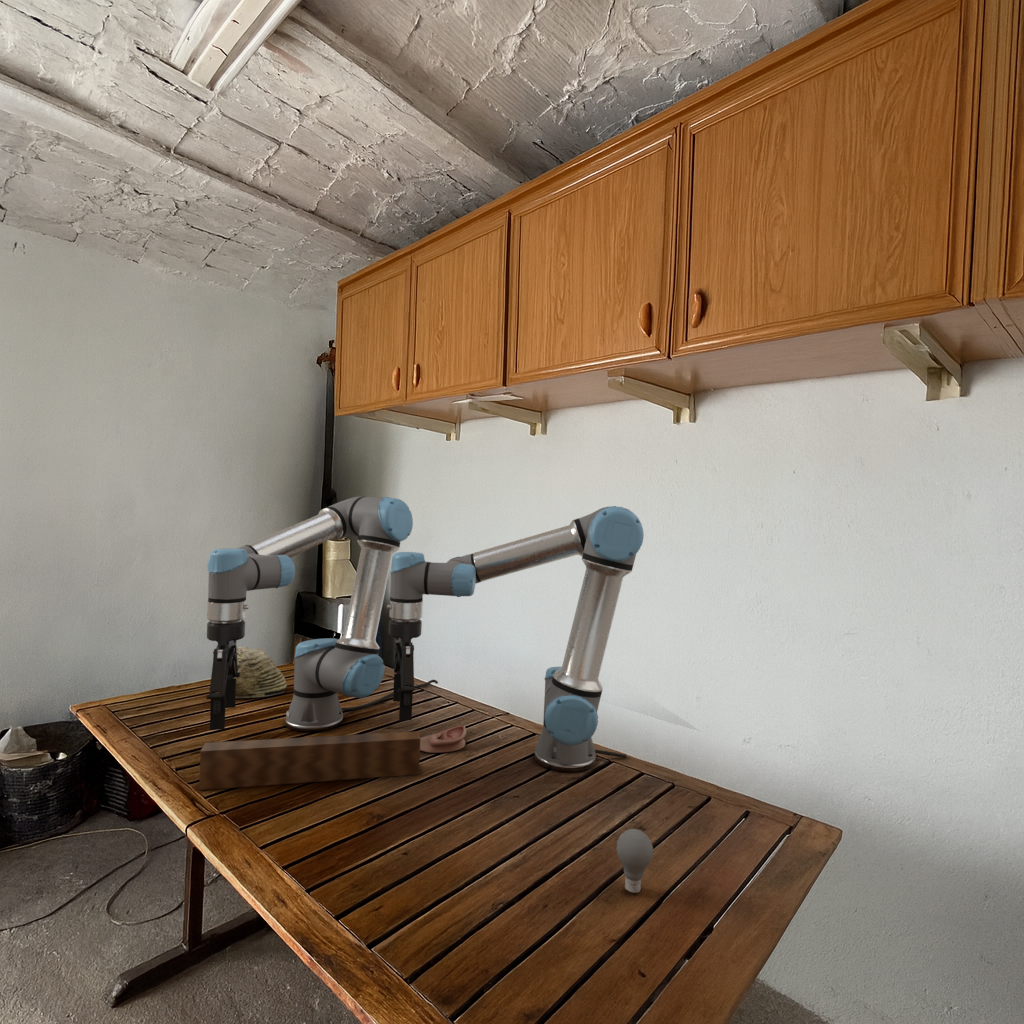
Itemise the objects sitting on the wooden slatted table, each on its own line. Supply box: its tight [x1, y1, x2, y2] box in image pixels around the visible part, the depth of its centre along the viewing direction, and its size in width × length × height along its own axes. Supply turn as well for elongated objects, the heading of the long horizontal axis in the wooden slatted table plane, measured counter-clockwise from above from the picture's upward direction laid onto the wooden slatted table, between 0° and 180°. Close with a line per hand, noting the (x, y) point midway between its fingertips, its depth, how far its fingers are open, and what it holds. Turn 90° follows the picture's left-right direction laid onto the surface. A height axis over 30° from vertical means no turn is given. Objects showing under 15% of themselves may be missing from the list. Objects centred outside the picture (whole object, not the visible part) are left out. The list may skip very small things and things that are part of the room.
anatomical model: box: [420, 725, 467, 754], centre depth 164 cm, size 13×4×12 cm
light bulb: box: [615, 828, 654, 894], centre depth 106 cm, size 6×6×10 cm
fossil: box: [234, 646, 288, 699], centre depth 198 cm, size 9×18×15 cm, turn 132°
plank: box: [198, 730, 421, 791], centre depth 143 cm, size 47×5×8 cm, turn 105°
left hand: (223, 717), depth 137 cm, fingers open, 13 cm apart
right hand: (401, 710), depth 147 cm, fingers open, 13 cm apart
